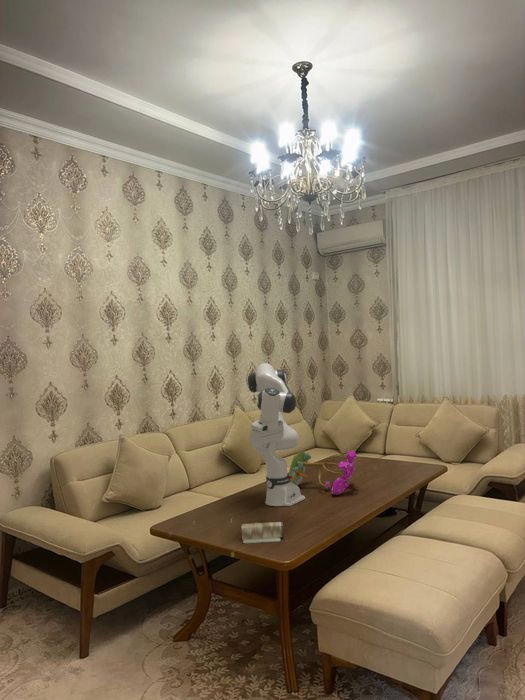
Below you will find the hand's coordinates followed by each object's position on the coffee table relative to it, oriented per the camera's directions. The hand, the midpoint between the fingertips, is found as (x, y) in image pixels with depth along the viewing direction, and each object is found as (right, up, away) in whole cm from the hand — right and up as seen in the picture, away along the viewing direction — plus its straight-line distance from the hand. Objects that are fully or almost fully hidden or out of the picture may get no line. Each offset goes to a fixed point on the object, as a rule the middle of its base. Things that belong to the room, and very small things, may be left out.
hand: (265, 451), depth 246 cm
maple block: (+8, -31, -16) cm, 36 cm away
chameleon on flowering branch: (+34, -33, +53) cm, 71 cm away
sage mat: (-2, -35, -17) cm, 38 cm away
